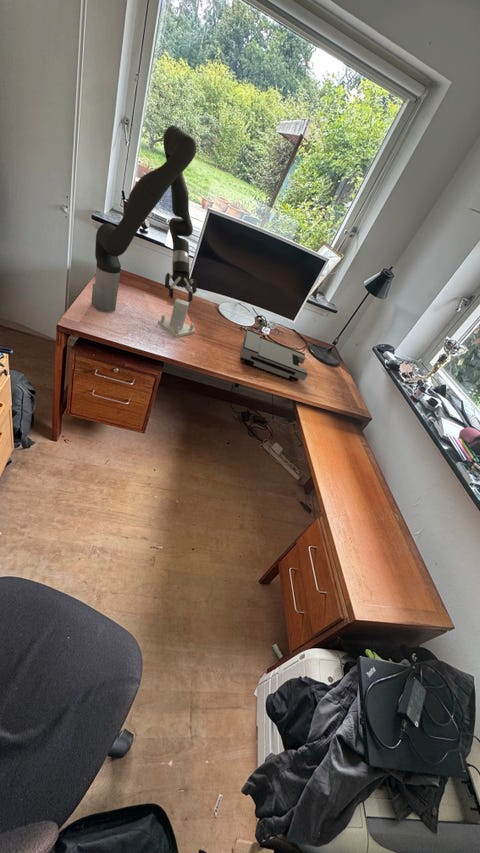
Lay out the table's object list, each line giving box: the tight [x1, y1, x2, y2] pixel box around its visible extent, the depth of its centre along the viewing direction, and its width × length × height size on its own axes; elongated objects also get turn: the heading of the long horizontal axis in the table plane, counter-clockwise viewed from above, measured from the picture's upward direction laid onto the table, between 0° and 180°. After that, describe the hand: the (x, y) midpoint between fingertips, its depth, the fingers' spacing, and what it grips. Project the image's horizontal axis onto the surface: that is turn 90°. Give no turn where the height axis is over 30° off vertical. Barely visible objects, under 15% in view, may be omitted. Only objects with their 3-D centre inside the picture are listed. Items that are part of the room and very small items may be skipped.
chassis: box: [157, 314, 196, 338], centre depth 159 cm, size 12×12×4 cm
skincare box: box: [170, 297, 190, 329], centre depth 156 cm, size 6×4×12 cm
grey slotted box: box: [239, 329, 308, 383], centre depth 166 cm, size 21×32×8 cm, turn 85°
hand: (181, 299), depth 154 cm, fingers open, 8 cm apart
